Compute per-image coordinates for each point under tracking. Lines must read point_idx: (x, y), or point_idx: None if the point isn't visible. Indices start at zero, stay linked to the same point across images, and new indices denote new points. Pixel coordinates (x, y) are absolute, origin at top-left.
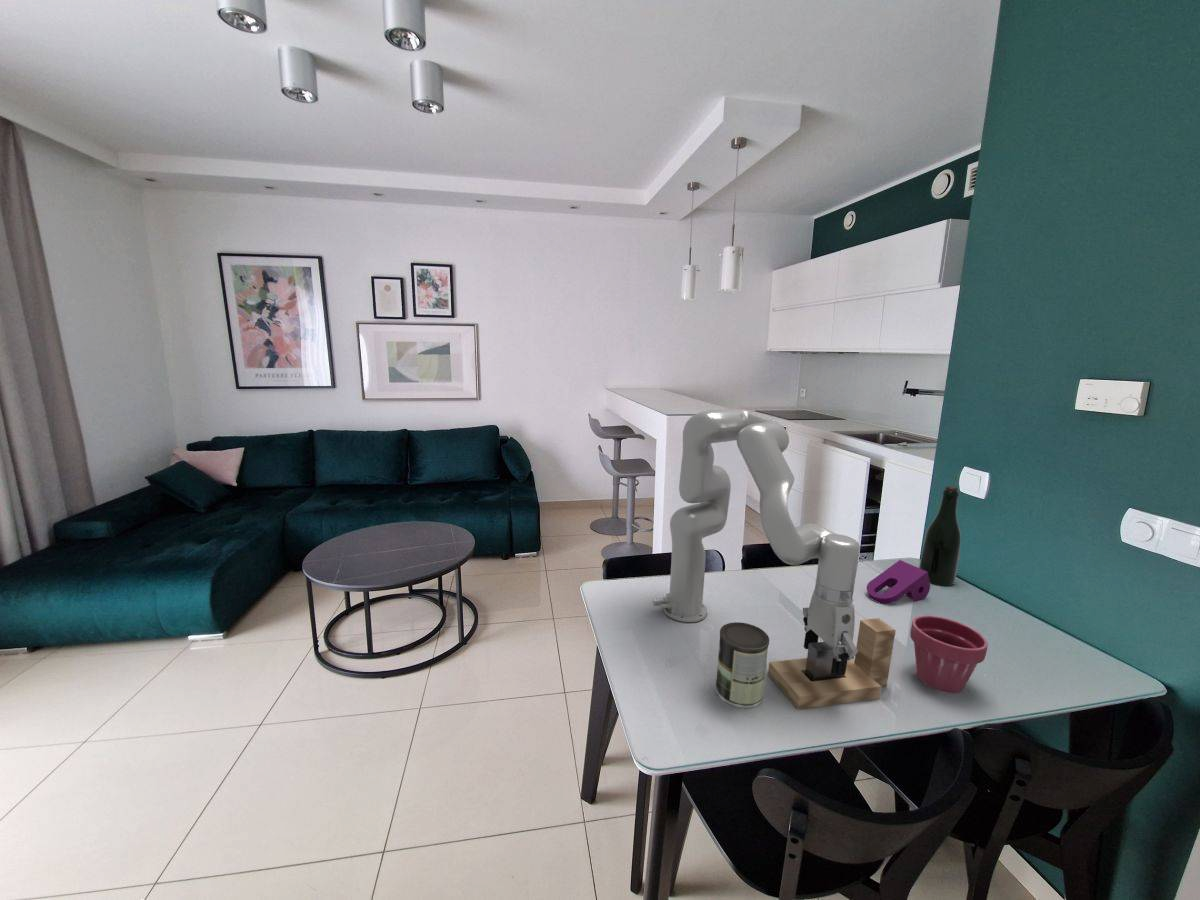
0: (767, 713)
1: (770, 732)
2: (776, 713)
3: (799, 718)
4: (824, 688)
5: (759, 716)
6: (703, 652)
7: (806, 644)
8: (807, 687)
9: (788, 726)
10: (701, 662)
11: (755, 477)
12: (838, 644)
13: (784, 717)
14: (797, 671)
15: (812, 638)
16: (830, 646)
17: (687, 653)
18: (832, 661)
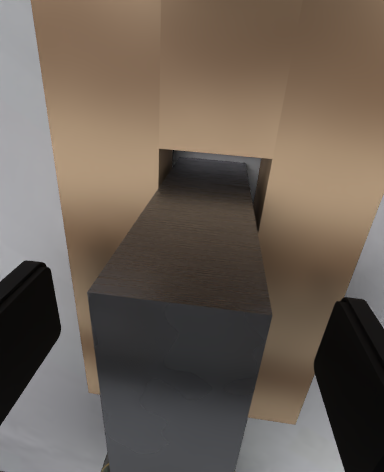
0: (266, 439)
1: (324, 465)
2: (275, 425)
3: (319, 395)
4: (297, 330)
5: (268, 455)
6: (3, 428)
7: (43, 359)
8: (263, 377)
9: (329, 430)
10: (47, 448)
11: None
12: (179, 330)
13: (297, 420)
14: None
15: (4, 367)
16: (195, 419)
17: (10, 453)
18: (342, 461)
